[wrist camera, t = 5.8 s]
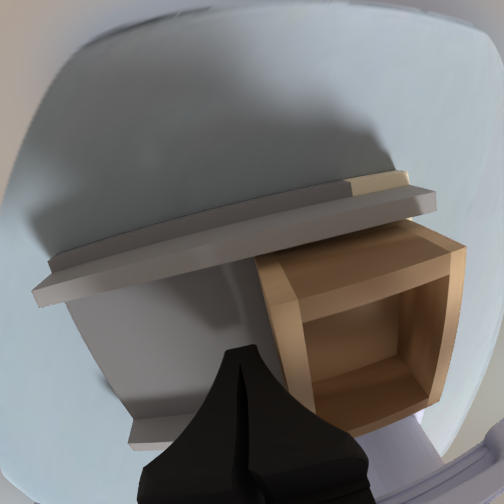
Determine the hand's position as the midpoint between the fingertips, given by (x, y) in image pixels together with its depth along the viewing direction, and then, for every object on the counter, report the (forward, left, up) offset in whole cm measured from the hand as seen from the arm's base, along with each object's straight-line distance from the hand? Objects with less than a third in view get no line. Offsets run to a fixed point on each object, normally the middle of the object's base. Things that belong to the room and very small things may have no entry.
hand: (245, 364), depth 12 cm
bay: (0, -1, -3) cm, 3 cm away
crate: (0, -5, -2) cm, 6 cm away
